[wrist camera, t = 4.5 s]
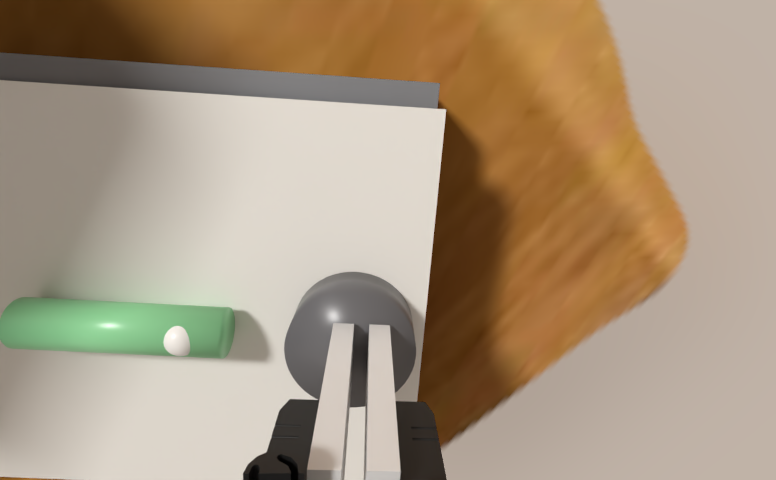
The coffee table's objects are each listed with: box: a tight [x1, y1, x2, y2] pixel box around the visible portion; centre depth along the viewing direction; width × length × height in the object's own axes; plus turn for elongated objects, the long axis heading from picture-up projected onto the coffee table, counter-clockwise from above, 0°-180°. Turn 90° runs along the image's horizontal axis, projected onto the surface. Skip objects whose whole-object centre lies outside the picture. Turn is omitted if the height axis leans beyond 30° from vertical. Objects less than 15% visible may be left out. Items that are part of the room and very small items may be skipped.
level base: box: [0, 53, 440, 109], centre depth 22 cm, size 20×20×4 cm
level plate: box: [0, 80, 446, 480], centre depth 17 cm, size 20×18×4 cm
